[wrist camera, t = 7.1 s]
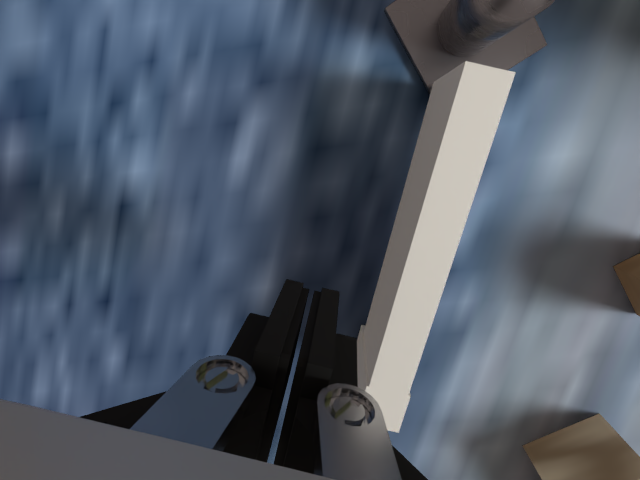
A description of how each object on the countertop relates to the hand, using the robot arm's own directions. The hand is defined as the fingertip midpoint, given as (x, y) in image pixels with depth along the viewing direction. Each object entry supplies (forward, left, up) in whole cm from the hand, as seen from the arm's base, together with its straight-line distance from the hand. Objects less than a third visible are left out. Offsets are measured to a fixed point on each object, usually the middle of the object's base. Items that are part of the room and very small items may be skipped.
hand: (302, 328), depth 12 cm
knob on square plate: (+11, +5, -8) cm, 15 cm away
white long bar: (+4, -1, -8) cm, 9 cm away
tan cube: (+6, -18, -8) cm, 21 cm away
